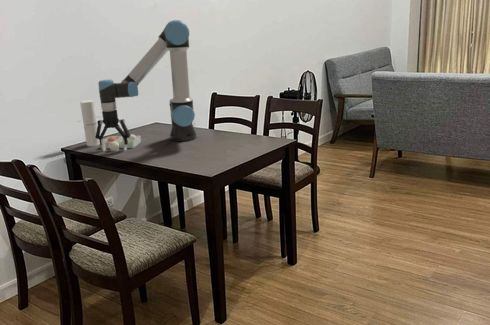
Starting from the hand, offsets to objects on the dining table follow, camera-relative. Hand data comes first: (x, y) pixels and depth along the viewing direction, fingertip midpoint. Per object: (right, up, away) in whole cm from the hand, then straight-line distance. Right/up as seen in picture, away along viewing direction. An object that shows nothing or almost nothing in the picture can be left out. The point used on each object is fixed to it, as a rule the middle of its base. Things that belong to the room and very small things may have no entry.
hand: (114, 150), depth 260 cm
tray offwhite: (-4, +3, +10) cm, 12 cm away
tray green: (+6, +3, +9) cm, 12 cm away
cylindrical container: (-16, +3, +14) cm, 22 cm away
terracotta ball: (-4, +3, +10) cm, 12 cm away
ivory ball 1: (0, 0, 0) cm, 0 cm away
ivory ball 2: (+7, +5, +12) cm, 15 cm away
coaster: (0, 0, 0) cm, 0 cm away
